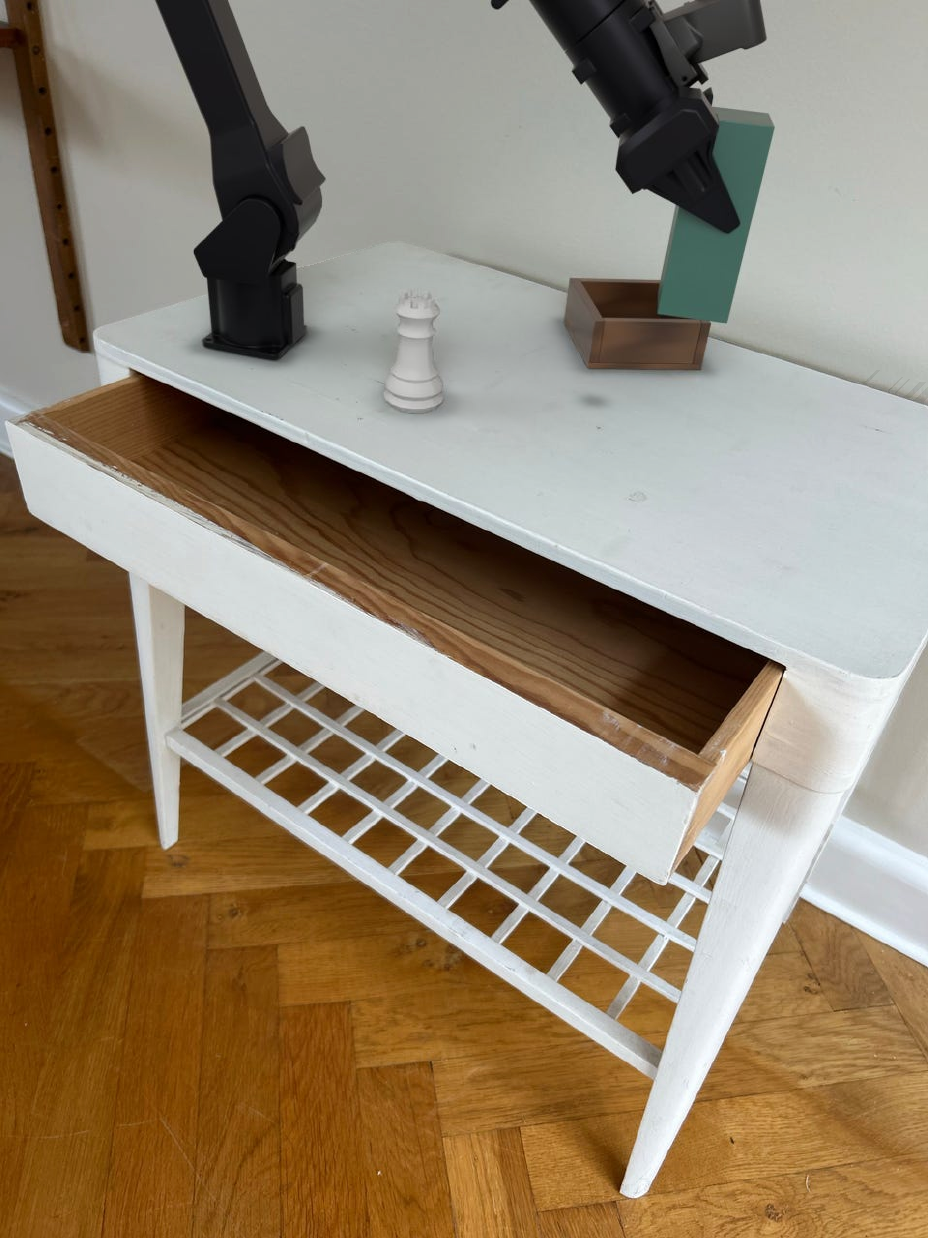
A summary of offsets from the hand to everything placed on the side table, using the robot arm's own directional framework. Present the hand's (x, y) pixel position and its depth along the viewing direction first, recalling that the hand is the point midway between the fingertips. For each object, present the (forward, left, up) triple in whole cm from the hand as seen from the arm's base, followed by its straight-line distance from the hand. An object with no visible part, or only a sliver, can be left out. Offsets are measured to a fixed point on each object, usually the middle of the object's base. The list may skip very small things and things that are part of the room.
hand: (732, 217), depth 71 cm
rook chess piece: (-20, -10, -14) cm, 26 cm away
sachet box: (-1, 0, -7) cm, 7 cm away
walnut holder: (-6, +8, -14) cm, 17 cm away
